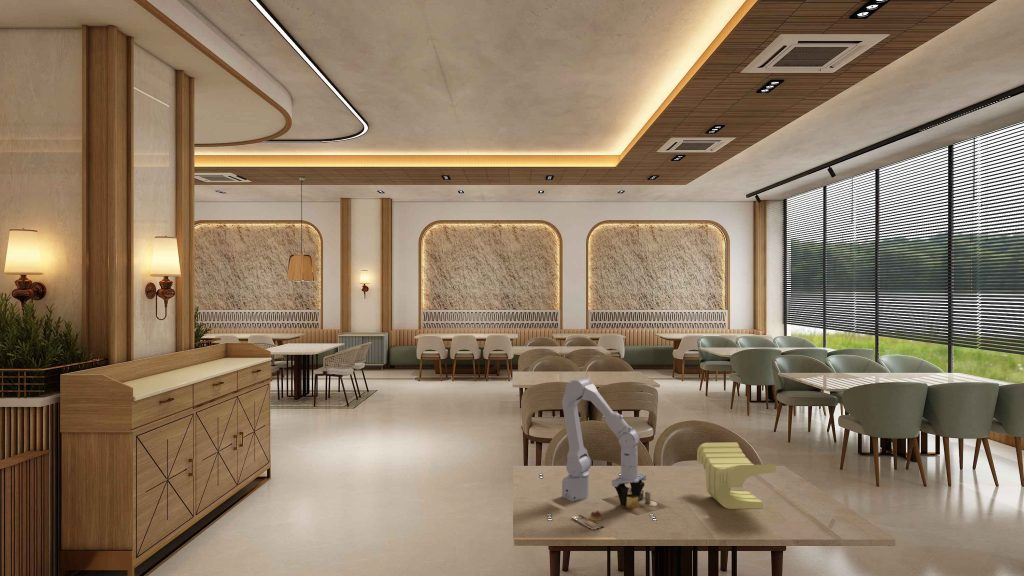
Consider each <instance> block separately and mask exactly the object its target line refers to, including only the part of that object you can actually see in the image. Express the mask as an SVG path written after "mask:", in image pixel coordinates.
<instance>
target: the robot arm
mask: <svg viewBox="0 0 1024 576" xmlns="http://www.w3.org/2000/svg"><path fill="white" fill-rule="evenodd" d="M564 389H565V390H564V394H563V396H562V397H563V398H562V401H561V404H562V411H563V416H564V424H565V430H566V436H567V442H568V443H567V444H568V448H569V449H568V452H567V455H566V459H567V460H566V461H567V462H566V465H565V466H566V467H565V469H566V471H567V473H568V475H567V476H565V477H563V479H562V481H561V482H562V483H561V485H562V486H561V497H562V498H564V499H566V500H568V501H570V502H576V501H582V500H583V501H584V500H586V499H588V498H589V496H590V495H589V494H590V493H589V491H590V490H589V489H590V485H589V484H590V480H589V478H590V476H589V475H590V473H589V470H590V469H591V467H592V459H591V458H590V456H589V452H588V450H587V448H586V447H585V446H584V440H583V433H582V427H581V421H580V414H579V408H578V404H579V403H580V401H581V400H584V401H587V402H588V401H589V402H590V403H592V404H593V405H594V406H595V407H596V409H597V410H598V411H599V412H600V413H601V414H602V415H603V416H604V418H605V424H606V425H607V426H608V428H609V429H610V430H611V431H612V433H614V435H615V436H616V438H618V444H619V446H620V449H621V450H620V476H618V477H617V478H615V479H611V486H612V487H614V489H615V490H616V493H617V496H619V499H620V504H621V505H623V506H626V503H627V493H628V490H629V488H630V487H631V490H632V494H635V495H637V496H638V500H639V496H640V493H641V491H642V490H643V489H644V487H645V482H644V481H646V480H647V474H644V473H639V472H638V471H639V469H638V465H639V463H638V461H639V460H638V459H639V457H638V455H639V452H638V443H639V442H640V440H641V439H640V434H639V433H638V430H636V429H634V428H633V427H632V426H630V425H629V424H628V423H627V422H626V421H625V419H624V416H623V414H620V413H619V412H615V411H614V410H612V408H611V406H610V405H609V404H608V403H607V401H606V399H604V397H603V396H602V394H600V392H599V390H598V389H597V387H596V385H595V384H594V383H592V381H591V379H589V378H588V377H581V378H578V379H575V380H571V381H569V382H568V383H567V385H566V386H565V388H564ZM627 484H629V485H630V487H629V486H626V485H627Z"/></svg>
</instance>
